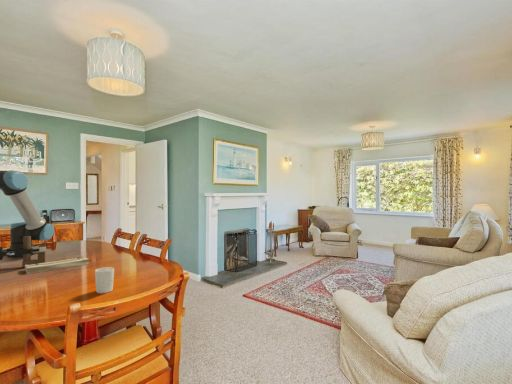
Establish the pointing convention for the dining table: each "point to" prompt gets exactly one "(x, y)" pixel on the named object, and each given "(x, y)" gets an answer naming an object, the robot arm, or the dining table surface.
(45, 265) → the maple board
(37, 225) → the robot arm
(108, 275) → the white cup
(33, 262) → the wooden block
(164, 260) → the dining table surface
